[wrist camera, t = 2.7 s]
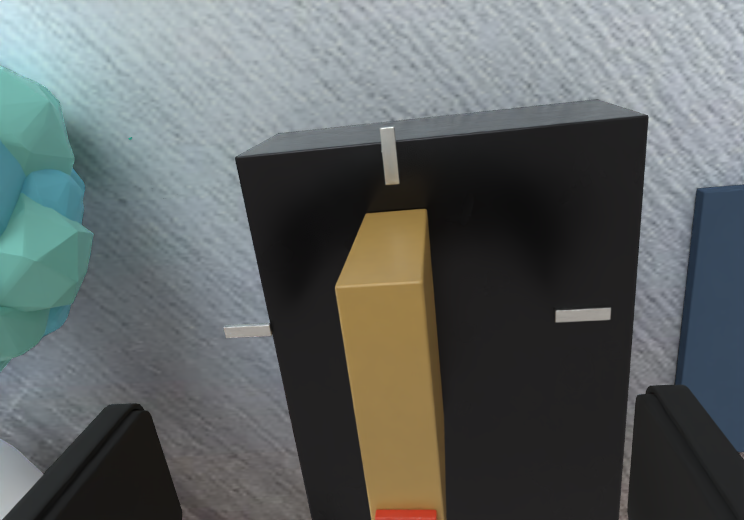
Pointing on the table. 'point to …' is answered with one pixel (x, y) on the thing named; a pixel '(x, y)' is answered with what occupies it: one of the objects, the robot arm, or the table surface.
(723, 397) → the mat
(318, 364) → the black box
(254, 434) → the table surface
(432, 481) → the manila folder box
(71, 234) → the teal toy tree
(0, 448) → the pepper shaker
